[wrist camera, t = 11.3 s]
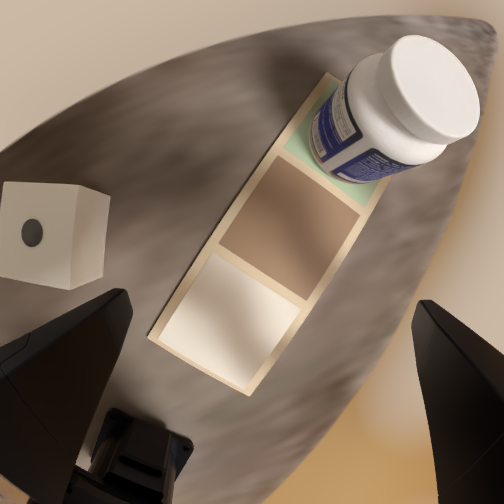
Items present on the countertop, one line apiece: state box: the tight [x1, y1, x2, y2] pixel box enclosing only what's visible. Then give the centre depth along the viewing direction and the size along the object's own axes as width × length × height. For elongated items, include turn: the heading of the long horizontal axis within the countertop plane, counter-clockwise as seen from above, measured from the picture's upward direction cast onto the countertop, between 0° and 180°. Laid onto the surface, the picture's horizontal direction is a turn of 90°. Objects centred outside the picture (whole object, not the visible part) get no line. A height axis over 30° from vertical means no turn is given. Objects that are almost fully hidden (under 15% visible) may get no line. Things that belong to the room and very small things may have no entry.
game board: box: [147, 72, 393, 397], centre depth 19 cm, size 21×8×1 cm, turn 146°
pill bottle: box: [309, 35, 480, 185], centre depth 14 cm, size 6×6×10 cm
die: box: [0, 182, 111, 290], centre depth 16 cm, size 5×5×5 cm
